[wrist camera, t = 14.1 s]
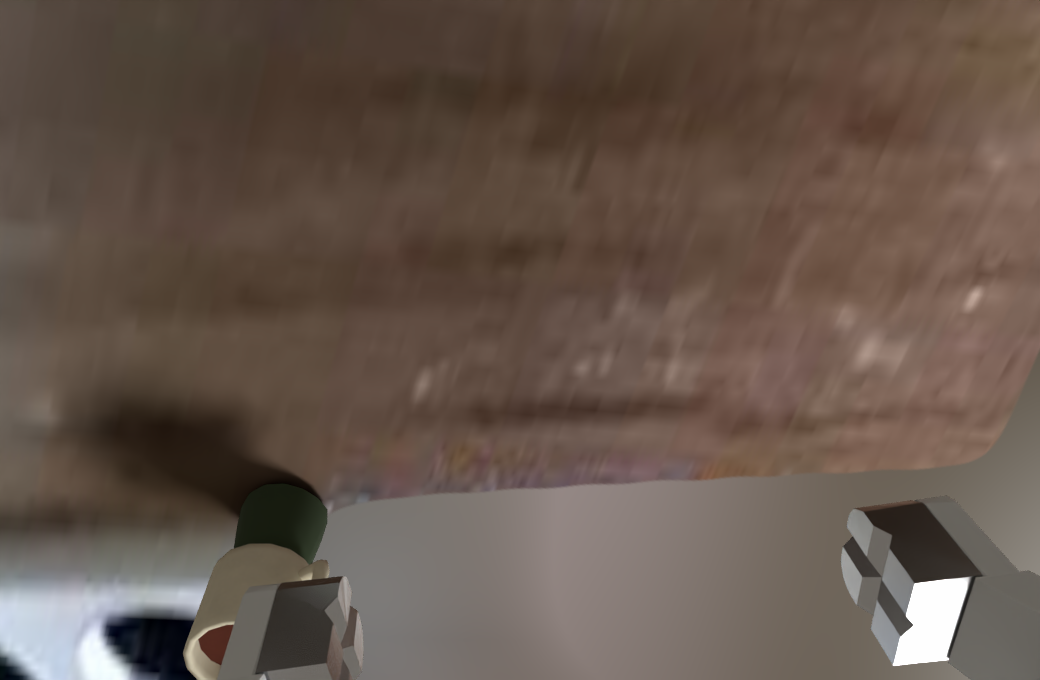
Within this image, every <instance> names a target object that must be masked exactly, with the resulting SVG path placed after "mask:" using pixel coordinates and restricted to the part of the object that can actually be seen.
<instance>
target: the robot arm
mask: <svg viewBox="0 0 1040 680" xmlns="http://www.w3.org/2000/svg"><path fill="white" fill-rule="evenodd" d="M847 528H848V529H849V531H850V532H851V534H852V535H853V537H852V538H851V539H850V540H849V541H848V542H847V543H846V544H845V545H844V546H843V549H842V557H841V566H842V572H843V577H844V581H845V583H846V586H847V588H848V591H849V593H850V595H851V596H852V598H853V600H854V602H855V603H856V605H857V606H859V607H860V608H862V609H863V610H865V611H867V612H868V613H870V614H871V615H873V620H872V626H871V630H872V631H873V633H874V635H875V636H876V638H877V640H878V641H879V643H880V645H881V646H882V648H883V650H884V651H885V653H886V654H887V656H888V658H889V659H890V661H891V663H892V664H893V665H894V666H895V665H904V664H913V663H922V662H931V661H940V660H949V661H948V663H949V664H951V665H952V666H953V667H955V668H956V669H957V670H959V671H960V672H961V673H963V674H964V675H965V676H967V677H968V678H969V679H971V680H1040V576H1039V575H1036V574H1035V573H1033V572H1031V571H1021V572H1019V571H1018V570H1017V568H1016V567H1015V566H1014V565H1013V564H1012V563H1011V562H1010V561H1009V560H1008V558H1007V557H1006V556H1005V555H1004V554H1003V553H1002V552H1001V551H1000V549H999V548H998V547H996V545H995V544H994V543H993V542H992V541H991V539H989V537H988V536H987V535H986V534H985V533H984V532H983V531H982V529H981V528H980V527H979V526H978V525H977V524H976V523H975V522H974V521H973V519H972V518H971V517H970V516H969V515H968V514H967V513H966V512H965V511H964V509H963V508H962V507H961V506H960V505H959V504H958V503H957V502H956V501H955V500H954V499H952V498H950V497H949V496H940V497H933V498H925V499H919V500H915V501H912V500H910V501H903V502H896V503H889V504H882V505H875V506H868V507H861V508H854V509H853V510H852V512H851V513H850V514H849V518H848V522H847ZM351 595H352V590H351V587H350V585H349V582H348V579H347V577H344V576H342V577H331V578H322V579H312V580H303V581H293V582H284V583H279V584H270V585H261V586H252V587H249V588H248V590H247V591H246V592H245V594H244V595H243V597H242V600H241V603H240V607H239V610H238V613H237V616H236V619H235V623H234V626H233V629H232V632H231V636H230V639H229V642H228V645H227V648H226V652H225V655H224V658H223V661H222V664H221V668H220V671H219V674H218V677H217V680H356V679H357V677H358V676H359V675H360V673H361V672H362V664H363V632H362V625H361V620H360V617H359V613H358V611H357V610H356V609H354V608H353V607H351V606H350V603H351Z"/></svg>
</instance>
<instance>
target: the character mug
mask: <svg viewBox="0 0 1040 680" xmlns="http://www.w3.org/2000/svg"><path fill="white" fill-rule="evenodd" d="M326 525H327V509H326V507H325V506H324V505H323V504H322V502H321V501H320V500H319V499H318V498H317V497H315V496H314V495H312V494H310V493H309V492H307V491H306V490H304V489H302V488H298V487H295V486H291V485H288V484H284V483H283V484H268V485H263V486H262V487H260V488H258V489H256V490H254V491H253V492H251V493H249V495H248V497H247V498H246V500H245V502H244V504H243V505H242V507H241V511H240V516H239V520H238V525H237V531H236V538H235V544H234V549H231V550H230V551H228V552H227V553H226V554H225V555H224V556H223V557H222V558H221V559H220V560H218V562H217V563H216V565H215V567H214V569H213V572H212V574H211V577H210V580H209V582H208V585H207V588H206V591H205V593H204V596H203V599H202V601H201V604H200V607H199V610H198V612H197V615H196V618H195V620H194V623H193V626H192V628H191V631H190V634H189V637H188V639H187V642H186V645H185V648H184V652H183V655H184V659H185V663H186V666H187V669H188V670H189V671H190V672H191V673H192V674H193V675H194V676H195V677H196V678H197V679H198V680H217V677H218V674H219V671H220V668H221V664H222V661H223V658H224V655H225V652H226V648H227V645H228V642H229V639H230V636H231V632H232V629H233V626H234V623H235V619H236V616H237V613H238V610H239V607H240V603H241V600H242V597H243V595H244V594H245V592H246V591H247V590H248V588H249V587H252V586H261V585H270V584H279V583H284V582H293V581H303V580H312V579H322V578H328V576H329V565H328V562H327V560H318V561H316V562H314V563H312V562H313V560H314V557H315V555H316V552H317V550H318V548H319V545H320V543H321V540H322V537H323V534H324V531H325V528H326Z"/></svg>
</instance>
